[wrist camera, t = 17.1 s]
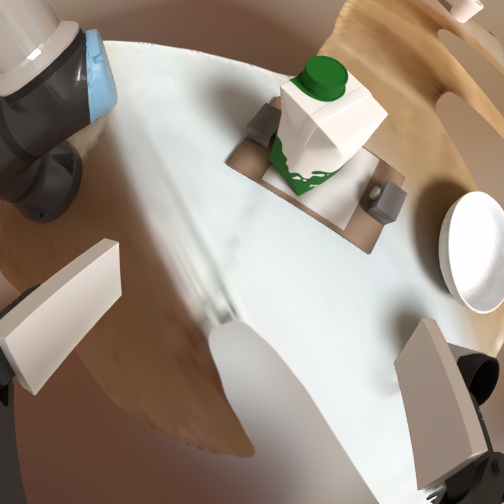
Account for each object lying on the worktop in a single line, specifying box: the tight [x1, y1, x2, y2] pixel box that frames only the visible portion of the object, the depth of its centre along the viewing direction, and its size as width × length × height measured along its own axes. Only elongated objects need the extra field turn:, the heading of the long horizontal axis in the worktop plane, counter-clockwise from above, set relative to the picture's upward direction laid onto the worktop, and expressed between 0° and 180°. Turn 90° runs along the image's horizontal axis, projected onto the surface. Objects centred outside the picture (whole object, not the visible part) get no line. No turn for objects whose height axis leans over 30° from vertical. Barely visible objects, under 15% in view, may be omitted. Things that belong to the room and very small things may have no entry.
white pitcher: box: [446, 342, 499, 406], centre depth 32 cm, size 9×14×15 cm, turn 150°
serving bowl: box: [439, 191, 504, 313], centre depth 38 cm, size 21×21×7 cm
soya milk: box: [268, 56, 388, 196], centre depth 30 cm, size 9×9×20 cm
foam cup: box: [450, 0, 483, 23], centre depth 43 cm, size 10×9×13 cm
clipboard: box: [228, 96, 407, 254], centre depth 39 cm, size 25×15×5 cm, turn 58°
